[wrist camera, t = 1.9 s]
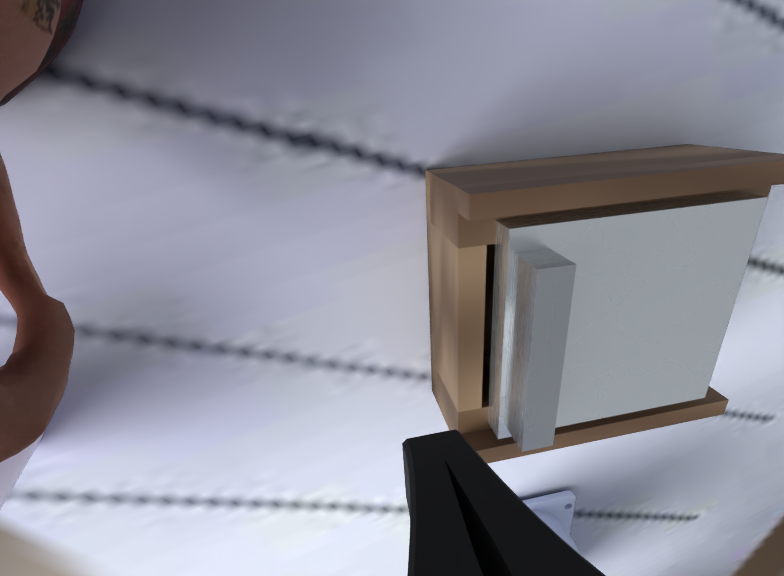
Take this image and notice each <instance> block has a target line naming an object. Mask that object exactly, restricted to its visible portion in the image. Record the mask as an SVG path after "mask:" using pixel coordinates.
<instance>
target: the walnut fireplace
mask: <svg viewBox="0 0 784 576" xmlns="http://www.w3.org/2000/svg"><path fill="white" fill-rule="evenodd" d="M425 175H426V208H427V240H428V273H429V305H430V338H431V370H432V391H433V394H434V396H435V398H436V401H437V403H438V405H439V407H440V410H441V412H442V414H443V416H444V419H445V421H446V423H447V425H448V428H449V430H455V429H456V430H458V431H459V432H460V433H461V434H462V435H463V436H464V438H465V439H466V440H467V441H468V443H469V444H470V445H471V446H472V447H473V448H474V450H475V451H476V452H477V453H478V454H479V455H480V457H481V458H482V459H483V460H484V461H485V462H486V463H492V462H496V461H501V460H506V459H511V458H516V457H520V456H525V455H530V454H535V453H540V452H544V451H549V450H554V449H559V448H563V447H568V446H573V445H578V444H583V443H587V442H592V441H597V440H602V439H607V438H611V437H616V436H621V435H626V434H630V433H635V432H640V431H645V430H650V429H654V428H659V427H664V426H669V425H674V424H678V423H683V422H688V421H693V420H697V419H702V418H707V417H712V416H717V415H721V414H724V412H725V409H726V406H727V403H728V399H727V398H725V397H724V396H723V395H721V394H720V393H718V392H717V391H715V390H714V389H712V388H711V387H710V386H708V390H707V393H706V396H705V398H701V399H696V400H691V401H686V402H681V403H676V404H671V405H666V406H661V407H656V408H651V409H646V410H641V411H636V412H631V413H626V414H621V415H616V416H611V417H606V418H601V419H596V420H591V421H586V422H581V423H576V424H571V425H566V426H561V427H556V428H555V434H554V441H553V446H548V447H543V448H538V449H533V450H529V451H524V452H522V451H521V450H520V448H519V447H518V445H517V443H516V442H515V440H514V439H513V437H507V438H502V439H497V437H496V435H495V433H494V432H493V430H492V428H491V426H490V425H489V423H488V407H489V382H490V358H491V333H492V309H493V284H494V260H495V235H496V221H499V220H507V219H516V218H524V217H532V216H541V215H549V214H557V213H566V212H574V211H582V210H591V209H599V208H607V207H616V206H624V205H632V204H641V203H649V202H658V201H666V200H674V199H683V198H691V197H699V196H708V195H716V194H724V193H733V192H745V193H750V194H755V195H760V196H765V197H768V195H769V192H770V189H771V185H778V184H784V154H777V153H768V152H758V151H748V150H739V149H729V148H720V147H710V146H700V145H691V144H685V145H675V146H665V147H655V148H645V149H634V150H624V151H614V152H604V153H594V154H584V155H574V156H563V157H553V158H543V159H533V160H523V161H513V162H503V163H492V164H482V165H472V166H462V167H452V168H442V169H432V170H425Z"/></svg>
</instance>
